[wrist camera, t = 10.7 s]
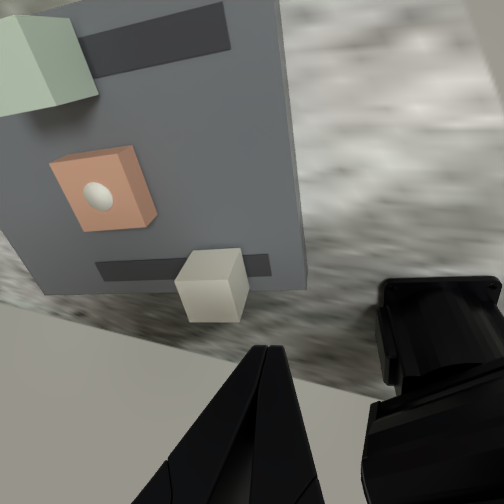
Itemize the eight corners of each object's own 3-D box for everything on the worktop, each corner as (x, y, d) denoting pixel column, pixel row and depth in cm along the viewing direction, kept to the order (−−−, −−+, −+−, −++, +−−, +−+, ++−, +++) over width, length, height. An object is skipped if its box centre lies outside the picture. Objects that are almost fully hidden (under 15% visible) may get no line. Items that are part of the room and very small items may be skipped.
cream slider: (240, 247, 19) (227, 279, 16) (249, 287, 20) (239, 322, 18) (192, 250, 20) (174, 281, 17) (205, 288, 21) (189, 322, 19)
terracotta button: (132, 144, 17) (116, 154, 15) (157, 214, 19) (145, 228, 17) (67, 154, 18) (47, 164, 16) (98, 219, 20) (82, 232, 18)
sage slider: (69, 18, 14) (14, 14, 11) (99, 94, 15) (56, 105, 13) (14, 33, 15) (-49, 32, 12) (47, 104, 16) (-2, 117, 14)
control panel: (274, -43, 13) (267, -54, 12) (307, 270, 22) (306, 290, 20) (-75, 54, 18) (-117, 56, 17) (61, 279, 27) (43, 296, 25)
